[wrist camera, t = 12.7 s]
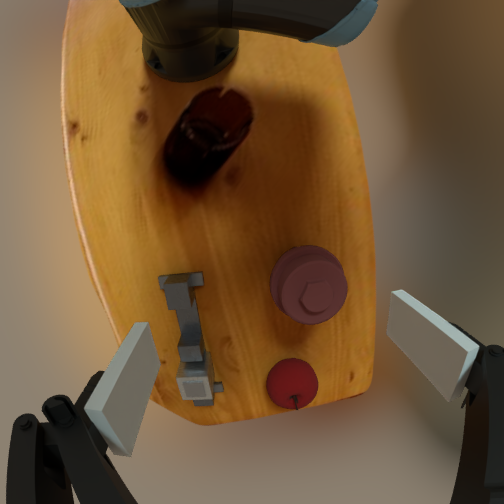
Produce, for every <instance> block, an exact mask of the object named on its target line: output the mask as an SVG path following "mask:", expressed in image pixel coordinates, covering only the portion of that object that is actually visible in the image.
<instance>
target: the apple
mask: <svg viewBox="0 0 504 504" xmlns="http://www.w3.org/2000/svg"><path fill="white" fill-rule="evenodd" d="M266 387H267V391H268V394H269V396H270V398H271V400H272V401H273V402H274V403H275V404H276V405H278V406H280V407H283V408H287V409H296V410H298V409H300V408H302V407H305V406H307V405H308V404H309V403H310V402H311V401H312V400H313V399H314V398H315V396H316V394H317V391H318V379H317V376H316V374H315V372H314V370H313V368H312V367H311V366H310V365H309V364H308V363H307V362H305V361H302V360H300V359H296V358H289V359H284V360H282V361H280V362H278V363H277V364H276V365H275V366H274V367H273V368H272V369H271V371H270V372H269V374H268V377H267V385H266Z"/></svg>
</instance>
